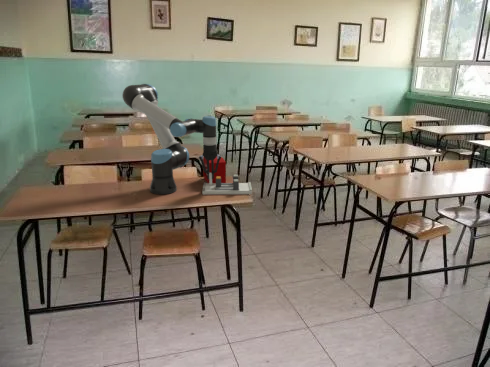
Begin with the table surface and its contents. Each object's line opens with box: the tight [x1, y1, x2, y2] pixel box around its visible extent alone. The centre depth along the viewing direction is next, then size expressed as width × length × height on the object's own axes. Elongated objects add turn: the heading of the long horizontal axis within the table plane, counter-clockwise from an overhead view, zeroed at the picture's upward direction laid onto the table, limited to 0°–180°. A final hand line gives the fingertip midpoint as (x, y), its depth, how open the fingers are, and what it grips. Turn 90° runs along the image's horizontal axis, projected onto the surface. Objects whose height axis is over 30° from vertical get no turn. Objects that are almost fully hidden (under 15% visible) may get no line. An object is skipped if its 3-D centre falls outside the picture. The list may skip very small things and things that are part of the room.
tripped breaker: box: [216, 176, 221, 187], centre depth 233 cm, size 3×3×5 cm
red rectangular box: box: [202, 156, 227, 183], centre depth 249 cm, size 16×11×15 cm
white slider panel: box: [202, 174, 253, 195], centre depth 233 cm, size 28×15×8 cm, turn 93°
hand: (210, 184), depth 233 cm, fingers closed
